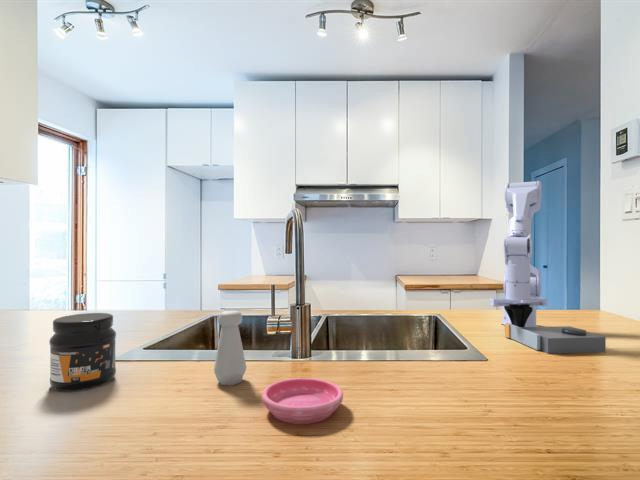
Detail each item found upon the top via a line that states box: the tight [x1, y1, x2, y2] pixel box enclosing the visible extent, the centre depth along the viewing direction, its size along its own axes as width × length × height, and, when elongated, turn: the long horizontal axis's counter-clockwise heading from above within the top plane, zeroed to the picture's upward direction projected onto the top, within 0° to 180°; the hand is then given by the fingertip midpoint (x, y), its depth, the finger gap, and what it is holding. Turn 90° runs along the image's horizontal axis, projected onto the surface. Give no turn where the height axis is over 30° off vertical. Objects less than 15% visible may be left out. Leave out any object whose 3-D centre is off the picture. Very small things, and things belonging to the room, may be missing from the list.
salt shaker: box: [213, 309, 247, 386], centre depth 72 cm, size 6×6×13 cm
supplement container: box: [49, 312, 117, 392], centre depth 72 cm, size 10×10×12 cm
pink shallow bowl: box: [261, 377, 344, 425], centre depth 60 cm, size 12×12×3 cm
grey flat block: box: [520, 325, 607, 355], centre depth 95 cm, size 12×14×4 cm
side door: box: [504, 323, 541, 351], centre depth 98 cm, size 13×1×4 cm, turn 4°
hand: (518, 333), depth 103 cm, fingers closed
